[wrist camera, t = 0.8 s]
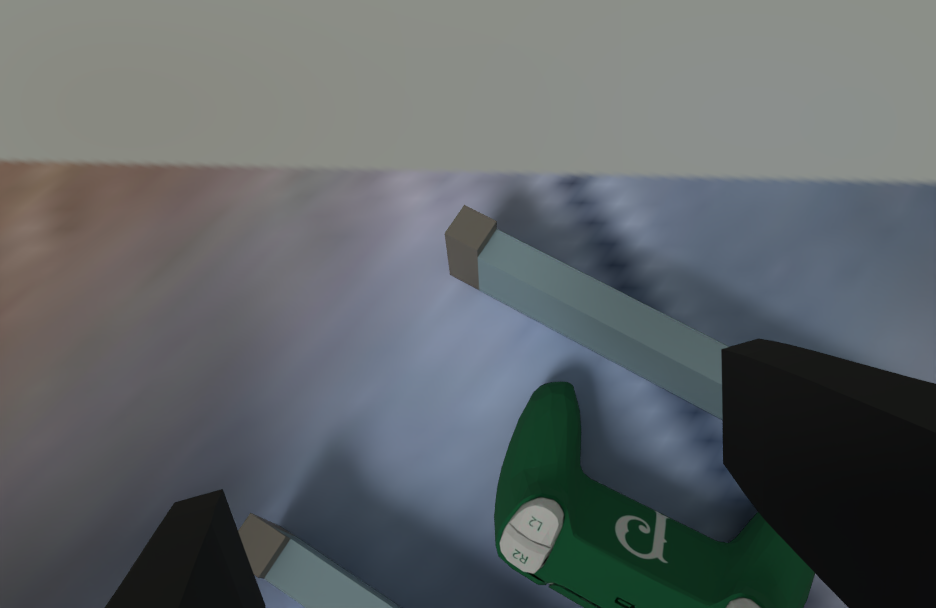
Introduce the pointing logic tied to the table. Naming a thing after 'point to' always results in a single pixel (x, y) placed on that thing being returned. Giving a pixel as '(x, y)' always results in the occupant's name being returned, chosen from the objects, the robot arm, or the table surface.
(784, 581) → the dark green curved piece
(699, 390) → the pair of grey bars
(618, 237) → the table surface
